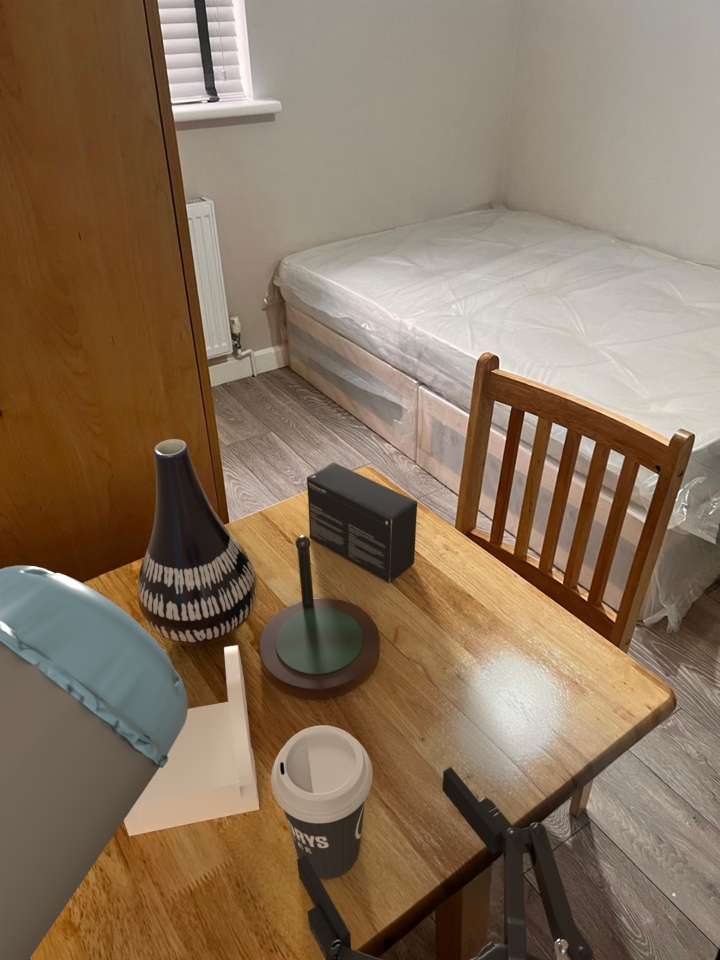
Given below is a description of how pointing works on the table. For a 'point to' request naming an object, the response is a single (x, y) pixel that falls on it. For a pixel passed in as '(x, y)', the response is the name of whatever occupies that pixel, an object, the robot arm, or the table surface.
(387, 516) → the box
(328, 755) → the coffee cup
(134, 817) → the white stand
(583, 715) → the table surface
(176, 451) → the vase
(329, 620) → the paper towel holder
